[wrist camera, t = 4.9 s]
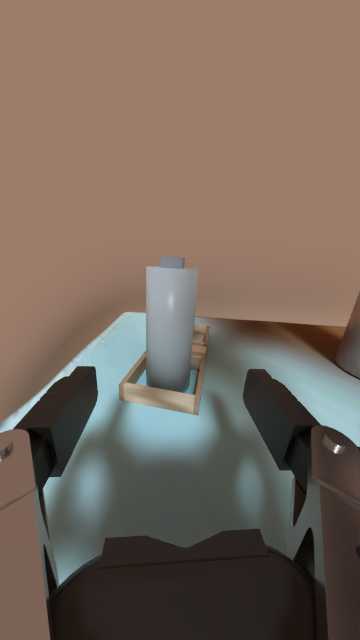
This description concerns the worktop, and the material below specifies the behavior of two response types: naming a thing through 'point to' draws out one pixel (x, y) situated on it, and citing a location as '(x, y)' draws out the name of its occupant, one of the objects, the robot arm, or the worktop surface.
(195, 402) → the wooden organizer tray
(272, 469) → the worktop surface
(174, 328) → the grey cylindrical bottle
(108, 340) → the worktop surface
